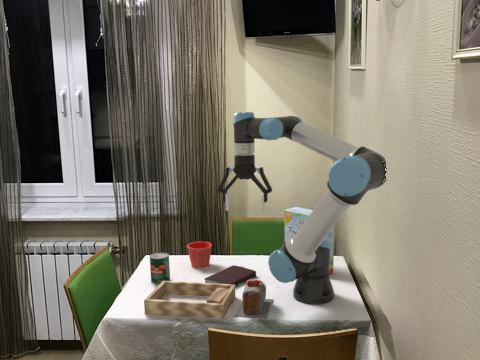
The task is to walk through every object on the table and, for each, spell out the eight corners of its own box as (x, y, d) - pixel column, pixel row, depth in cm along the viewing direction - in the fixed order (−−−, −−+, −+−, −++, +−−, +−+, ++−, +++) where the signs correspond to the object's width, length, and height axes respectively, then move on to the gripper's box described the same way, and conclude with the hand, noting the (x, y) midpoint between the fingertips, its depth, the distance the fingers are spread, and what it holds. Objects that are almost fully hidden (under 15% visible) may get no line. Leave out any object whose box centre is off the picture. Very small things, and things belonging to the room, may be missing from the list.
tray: (235, 297, 194) (235, 284, 193) (223, 319, 175) (223, 305, 174) (163, 293, 199) (163, 280, 199) (144, 313, 181) (144, 300, 180)
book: (256, 277, 216) (256, 270, 215) (227, 291, 201) (227, 283, 200) (233, 272, 223) (232, 264, 223) (203, 285, 208) (203, 277, 208)
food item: (245, 299, 191) (244, 273, 189) (266, 299, 190) (266, 274, 188) (241, 314, 177) (240, 287, 176) (264, 315, 176) (264, 288, 175)
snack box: (283, 266, 228) (282, 209, 224) (296, 261, 234) (296, 206, 230) (321, 278, 212) (322, 217, 208) (334, 272, 218) (335, 213, 214)
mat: (272, 300, 190) (272, 299, 190) (266, 318, 175) (266, 317, 175) (243, 298, 192) (243, 297, 192) (234, 316, 177) (234, 315, 177)
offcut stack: (231, 299, 192) (230, 287, 191) (221, 316, 177) (221, 303, 177) (215, 298, 193) (214, 286, 192) (204, 315, 179) (203, 302, 178)
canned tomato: (169, 276, 217) (168, 251, 215) (171, 283, 210) (170, 257, 208) (150, 278, 215) (148, 253, 214) (151, 285, 208) (150, 259, 206)
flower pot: (198, 271, 223) (197, 249, 221) (183, 265, 231) (182, 244, 230) (217, 265, 230) (216, 244, 229) (202, 260, 238) (201, 240, 237)
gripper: (209, 155, 188) (210, 211, 192) (277, 155, 184) (277, 213, 187) (213, 152, 195) (214, 207, 199) (279, 153, 191) (279, 208, 195)
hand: (245, 210), depth 193 cm, fingers open, 13 cm apart
